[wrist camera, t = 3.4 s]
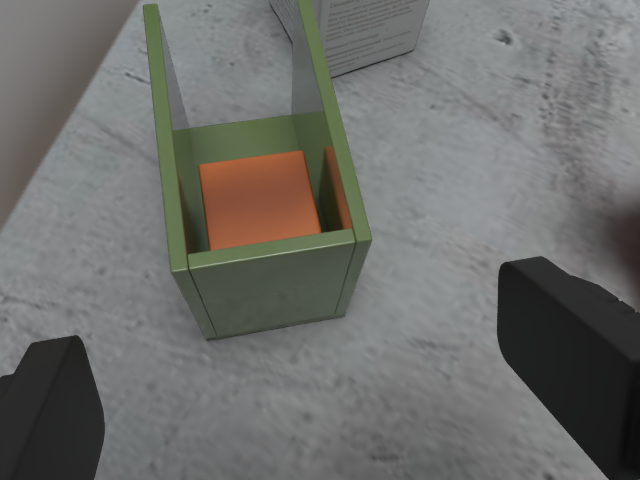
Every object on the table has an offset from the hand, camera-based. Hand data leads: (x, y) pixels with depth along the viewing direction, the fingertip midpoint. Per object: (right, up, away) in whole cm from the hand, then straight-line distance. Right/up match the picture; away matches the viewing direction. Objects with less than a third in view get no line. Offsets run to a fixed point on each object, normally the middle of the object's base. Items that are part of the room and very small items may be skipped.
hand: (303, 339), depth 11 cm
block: (-2, +2, +13) cm, 14 cm away
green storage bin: (-2, +3, +14) cm, 15 cm away
